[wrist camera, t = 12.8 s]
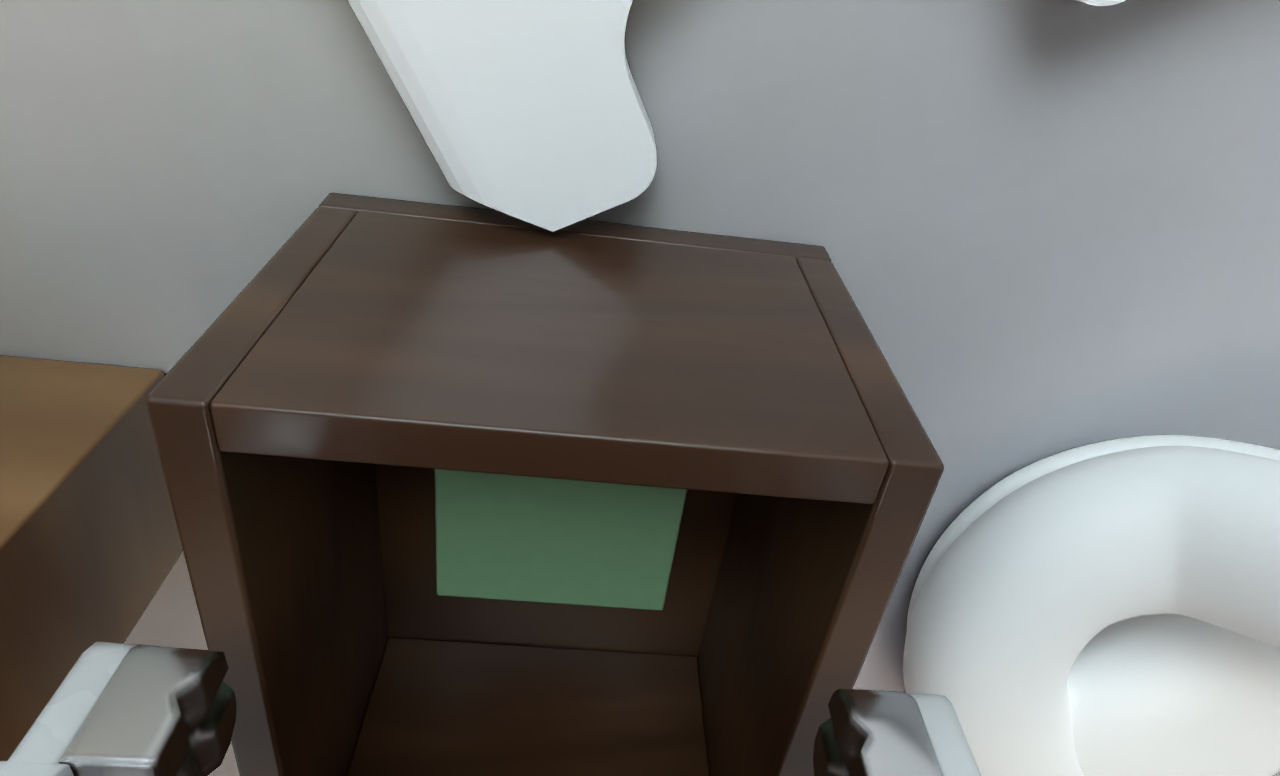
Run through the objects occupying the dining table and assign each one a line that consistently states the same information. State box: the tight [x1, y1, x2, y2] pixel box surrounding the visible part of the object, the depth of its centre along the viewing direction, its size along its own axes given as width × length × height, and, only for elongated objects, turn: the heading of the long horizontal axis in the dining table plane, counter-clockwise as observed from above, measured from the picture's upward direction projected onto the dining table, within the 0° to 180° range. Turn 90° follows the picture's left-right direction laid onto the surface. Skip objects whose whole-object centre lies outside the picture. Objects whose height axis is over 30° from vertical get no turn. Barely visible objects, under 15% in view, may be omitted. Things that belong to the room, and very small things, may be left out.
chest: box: [146, 193, 944, 776], centre depth 17 cm, size 14×11×8 cm
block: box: [434, 469, 687, 611], centre depth 17 cm, size 4×4×4 cm
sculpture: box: [903, 435, 1280, 776], centre depth 20 cm, size 12×15×8 cm
